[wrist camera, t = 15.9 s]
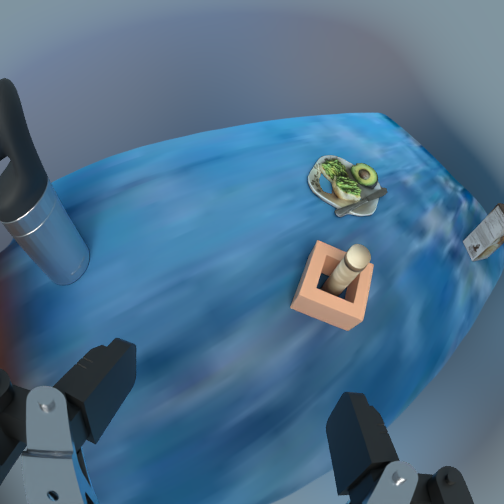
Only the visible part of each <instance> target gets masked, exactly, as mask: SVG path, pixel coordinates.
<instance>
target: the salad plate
mask: <svg viewBox="0 0 504 504" xmlns="http://www.w3.org/2000/svg"><path fill="white" fill-rule="evenodd" d="M321 173H322V174H323V176H324V177H326V178H327V179H328V180H329V181H330V182H331V184H332V188H333V190H332V194H330V193H326V192H324V191H323V190H322V188H321V187H320V184H319V178H320V175H321ZM308 184H309V186H310V188H311V190H312V191H313V192H314V193H315V194H316V195H317V196H318V197H319V198H320V199H321V200H322V201H324V202H326V203H327V204H329V205H331V206H333V207H335V208H336V210H335V214H336V215H337V216H338V217H342V216H344V215H346V214H351V215H356V216H369V215H371V214H372V213H374V211H375V210H376V207H377V203H378V199H379V197H382V196H384V195H385V194H386V193H387V189H386V188H382V187H381V186H380V184H379V183H378V175H377V173H376V171H375V170H374V169H373V168H371V167H370V166H368V165H366V164H363V163H357V164H356V165H353V164H351V163H350V162H348V161H346V160H344V159H342V158H340V157H337V156H333V155H327V156H322V157H321V158H319V159H318V161H317V162H316V164H315V165H314V167H313V168H312V170H311V171H310V173H309V175H308ZM360 198H361V200H360Z"/></svg>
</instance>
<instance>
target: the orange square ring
mask: <svg viewBox="0 0 504 504" xmlns="http://www.w3.org/2000/svg"><path fill="white" fill-rule="evenodd" d="M345 254H346V252H344V251H342V250H340V249H337V248H335V247H333V246H330V245H328V244H326V243H323V242H321V241H319V240H317V242H316V244H315V246H314V248H313V250H312V251H311V253H310V255H309V257H308V260H307V263H306V266H305V268H304V271H303V274H302V277H301V280H300V282H299V285H298V288H297V290H296V293H295V296H294V298H293V301H292V304H291V306H290V308H292V309H294V310H296V311H299V312H301V313H304V314H306V315H309V316H311V317H314V318H316V319H319V320H321V321H324V322H326V323H329V324H331V325H334V326H336V327H339V328H342V329H344V330H347V331H349V330H350V329H352V328H353V327H355V326H356V325H358V324H359V323H360V322H362V321H363V318H364V313H365V309H366V304H367V299H368V294H369V289H370V283H371V278H372V272H373V264H371V263H368V264H367V266H366V267H365V269H364V270H363V271H361V272H360V273H359V274H358V275H357V276H356V277H355V279H354V280H353V281H352V282H351V283H350V284H349V285H348V287H347V291H346V295H345V299H341V298H339V297H337V296H334V295H332V294H329V293H327V292H324V291H322V290H320V289H317V288H316V287H317V284H318V281H319V278H320V275H321V273H323V274H325V275H328V276H330V275H331V274H332V273H333V271H334V270H335V269H336V267H337V266H338V264H339V263H340V262H341V260H342V259H343V258H344V255H345Z"/></svg>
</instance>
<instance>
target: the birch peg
mask: <svg viewBox="0 0 504 504" xmlns="http://www.w3.org/2000/svg"><path fill="white" fill-rule="evenodd" d="M370 260H371V255H370V252H369V250H368V249H367V248H366V247H365V246H363V245H360V244H355V245H353V246H352V247H351V248H350V249H349V250H348V251H347V252H346V254H345V255H344V258H343V259H342V260H341V262H340V263H339V264H338V266H337V267H336V269H335V270H334V271H333V273H332V274H331V275H330V276H329V278H328V279H327V280H326V282H325V283H324V284H323V286H322V287H321V288H320V290H322V291H324V292H327V293H329V294H332V295H334V296H337V297H338V296H339V295H340V294H341V293H342V291H343V290H344V289H345V288H346V287H347V286H348V285H349V284H350V283H351V282H352V281H353V280H354V279H355V277H356V276H357V275H358V274H359V273H360V272H361V271H363V270H364V269H365V267H366V266H367V264H368V263H369V262H370Z"/></svg>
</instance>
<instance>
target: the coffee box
mask: <svg viewBox="0 0 504 504" xmlns="http://www.w3.org/2000/svg"><path fill="white" fill-rule="evenodd" d="M463 243H464V245H465V247H466V249H467V251H468V253H469V255H470V257H471V260H472V261H477V260H482V259H486V258H488V257H489V256H490V255H491V254H492V253H493V252H494V251H495V250H497V249H498V248H499V247H500V246H501V245H502V244H503V243H504V204H501V203H498V204H497V205H496V207H495V208H494V209H493V210H492V211H491V212H490V213H489V214H488V216H487V217H486V218H485V219H484V220H483V221H482V222H481V223H480V224H479V225H478V226H477V227H476V228H475V229H474V231H473V232H472V233H471V234H470V235H469V236H468V237H467V238H466V239H465V240H464V241H463Z"/></svg>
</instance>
